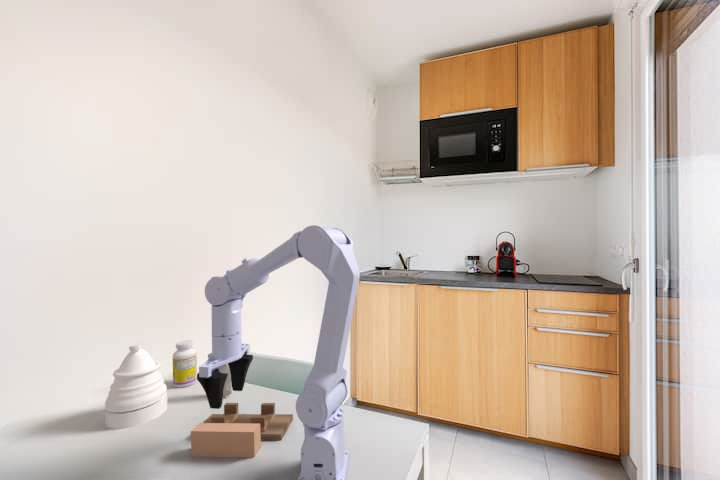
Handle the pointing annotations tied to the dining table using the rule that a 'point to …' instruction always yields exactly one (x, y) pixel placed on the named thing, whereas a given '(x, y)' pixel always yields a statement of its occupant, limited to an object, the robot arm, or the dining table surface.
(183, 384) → the supplement bottle
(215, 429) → the clay bar
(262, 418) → the wooden block stand
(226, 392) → the stone tool
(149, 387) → the honey pot
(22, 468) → the dining table surface
